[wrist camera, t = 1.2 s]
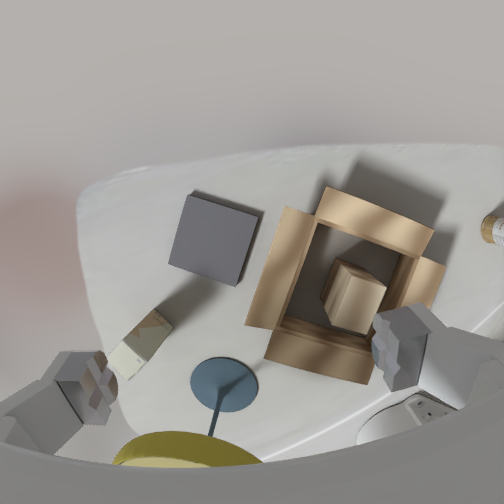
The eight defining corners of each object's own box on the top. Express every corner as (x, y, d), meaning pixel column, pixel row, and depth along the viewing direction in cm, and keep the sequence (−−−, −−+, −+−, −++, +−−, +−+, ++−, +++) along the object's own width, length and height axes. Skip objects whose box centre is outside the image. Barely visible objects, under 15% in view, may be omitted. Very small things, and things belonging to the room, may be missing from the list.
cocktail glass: (276, 332, 46) (275, 457, 21) (283, 424, 48) (284, 546, 24) (159, 338, 47) (80, 440, 22) (181, 425, 50) (138, 533, 25)
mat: (258, 216, 43) (258, 217, 42) (236, 285, 45) (235, 287, 44) (189, 194, 43) (187, 194, 42) (170, 262, 45) (168, 263, 44)
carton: (434, 233, 41) (456, 239, 35) (377, 368, 46) (389, 390, 39) (291, 177, 42) (295, 174, 35) (240, 330, 46) (235, 350, 39)
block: (363, 268, 43) (386, 287, 33) (348, 306, 44) (366, 334, 34) (334, 258, 43) (351, 275, 33) (319, 297, 44) (331, 324, 34)
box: (154, 307, 46) (123, 337, 35) (174, 327, 46) (149, 362, 36) (135, 328, 47) (103, 360, 36) (155, 347, 47) (127, 383, 36)
